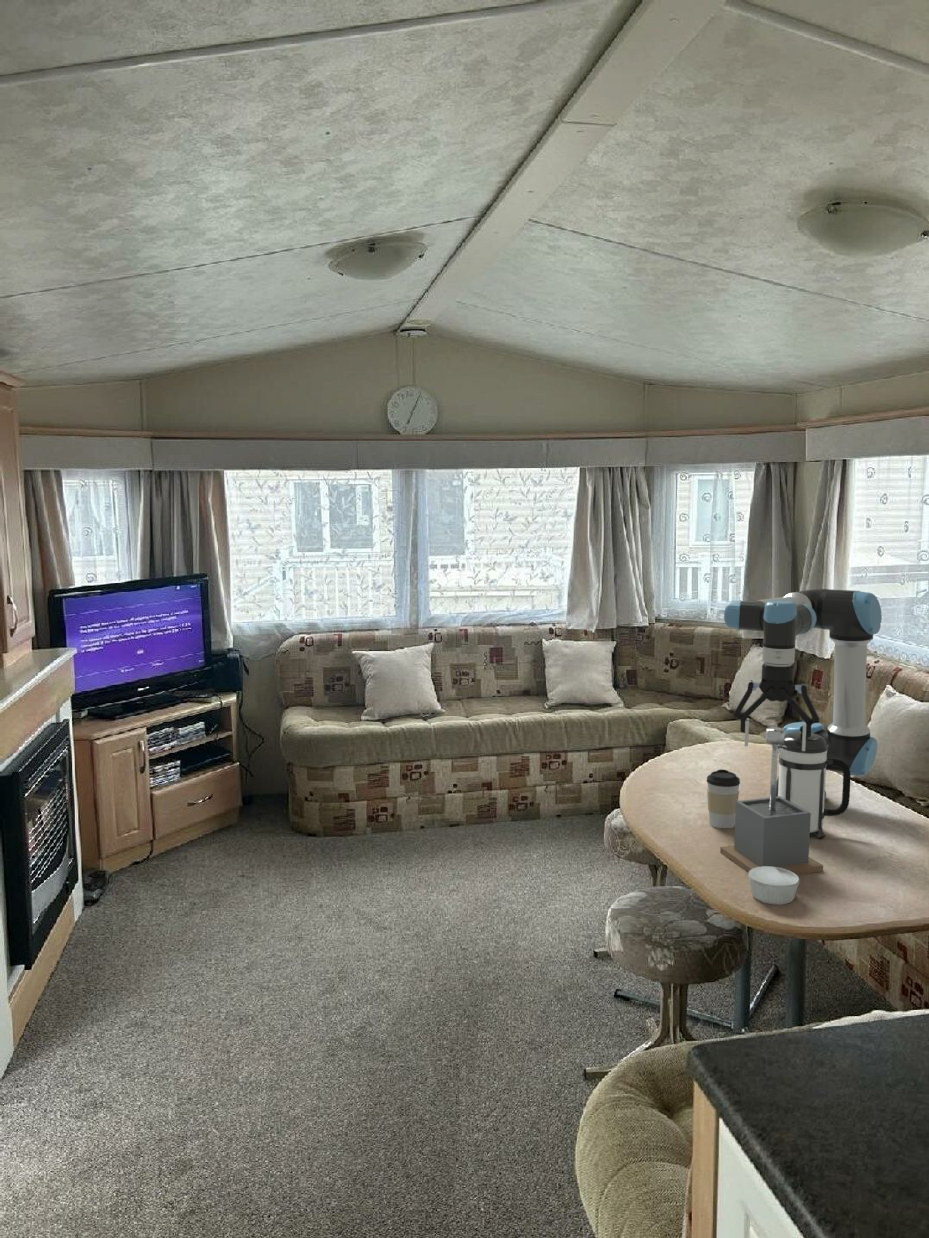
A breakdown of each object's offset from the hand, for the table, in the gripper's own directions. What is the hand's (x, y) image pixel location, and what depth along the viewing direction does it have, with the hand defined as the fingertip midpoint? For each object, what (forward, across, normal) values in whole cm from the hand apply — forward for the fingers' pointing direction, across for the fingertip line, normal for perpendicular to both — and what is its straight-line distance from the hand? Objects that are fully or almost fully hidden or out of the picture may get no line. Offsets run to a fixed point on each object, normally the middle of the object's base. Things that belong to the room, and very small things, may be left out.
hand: (774, 747), depth 240 cm
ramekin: (+30, +1, -21) cm, 37 cm away
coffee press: (+30, +8, +25) cm, 40 cm away
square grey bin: (+30, 0, 0) cm, 30 cm away
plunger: (+17, 0, 0) cm, 17 cm away
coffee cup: (+30, -14, +23) cm, 41 cm away
